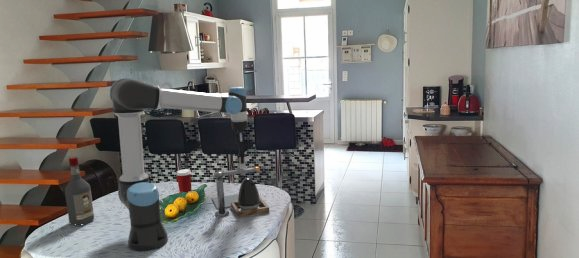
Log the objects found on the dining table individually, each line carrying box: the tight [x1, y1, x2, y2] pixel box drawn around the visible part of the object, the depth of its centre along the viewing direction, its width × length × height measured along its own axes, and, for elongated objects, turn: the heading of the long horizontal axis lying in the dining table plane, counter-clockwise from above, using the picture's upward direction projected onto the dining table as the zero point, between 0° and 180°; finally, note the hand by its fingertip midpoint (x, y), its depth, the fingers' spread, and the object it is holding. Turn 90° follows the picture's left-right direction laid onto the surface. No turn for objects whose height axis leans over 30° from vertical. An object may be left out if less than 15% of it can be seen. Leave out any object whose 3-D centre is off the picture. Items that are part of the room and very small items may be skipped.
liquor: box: [64, 156, 95, 226], centre depth 208 cm, size 9×9×30 cm
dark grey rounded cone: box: [238, 177, 260, 211], centre depth 214 cm, size 10×10×15 cm
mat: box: [211, 193, 239, 211], centre depth 227 cm, size 16×16×1 cm
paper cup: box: [175, 168, 192, 194], centre depth 236 cm, size 8×8×14 cm
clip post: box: [214, 176, 230, 218], centre depth 209 cm, size 6×6×18 cm
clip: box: [213, 166, 261, 178], centre depth 210 cm, size 21×4×2 cm, turn 108°
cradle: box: [230, 196, 270, 219], centre depth 215 cm, size 15×15×2 cm
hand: (242, 169), depth 218 cm, fingers closed
